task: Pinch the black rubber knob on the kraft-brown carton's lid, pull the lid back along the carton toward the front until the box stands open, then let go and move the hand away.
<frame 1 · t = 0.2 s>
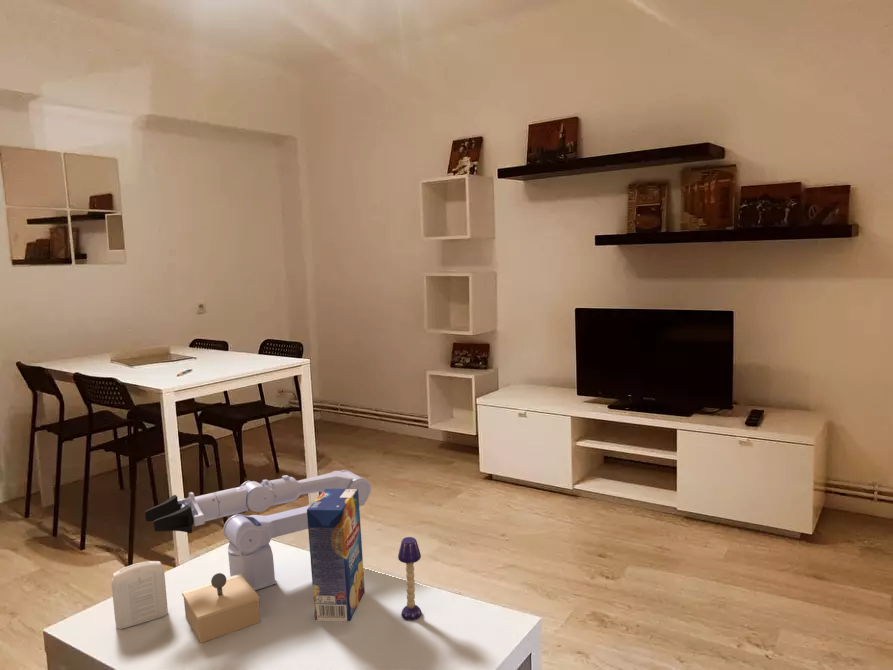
hand: (149, 521, 141), 21 cm above the table, tool horizontal, fingers open, 7 cm apart
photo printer: (142, 620, 143), on the table
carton: (222, 619, 141), on the table
juice carton: (340, 606, 145), on the table
lid: (219, 585, 140), point 8 cm above the table, slide at 0.0 cm
toy lamp: (412, 616, 140), on the table
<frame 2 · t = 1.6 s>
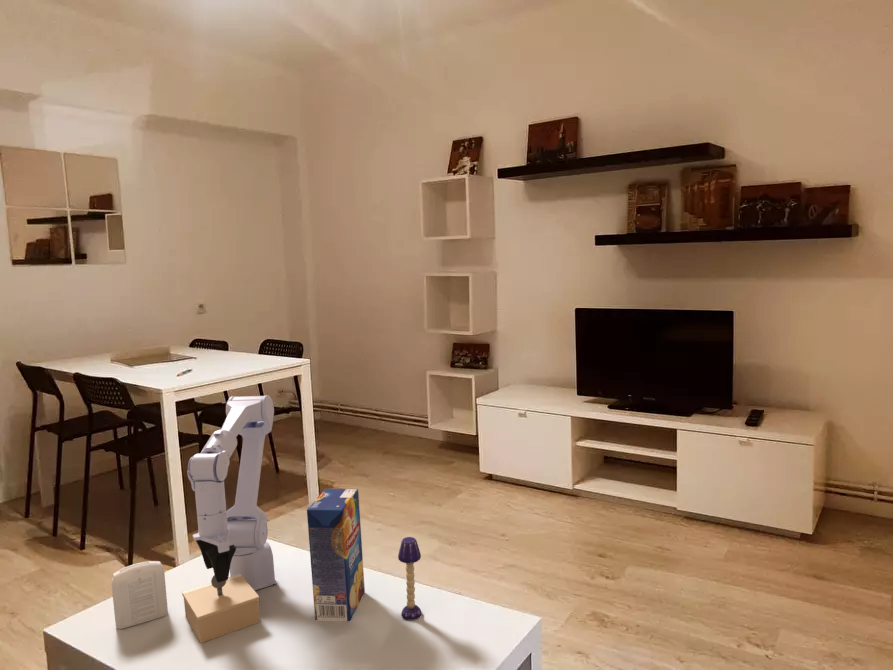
hand: (217, 573, 139), 10 cm above the table, tool pointing down, fingers open, 7 cm apart
nothing on the table moved.
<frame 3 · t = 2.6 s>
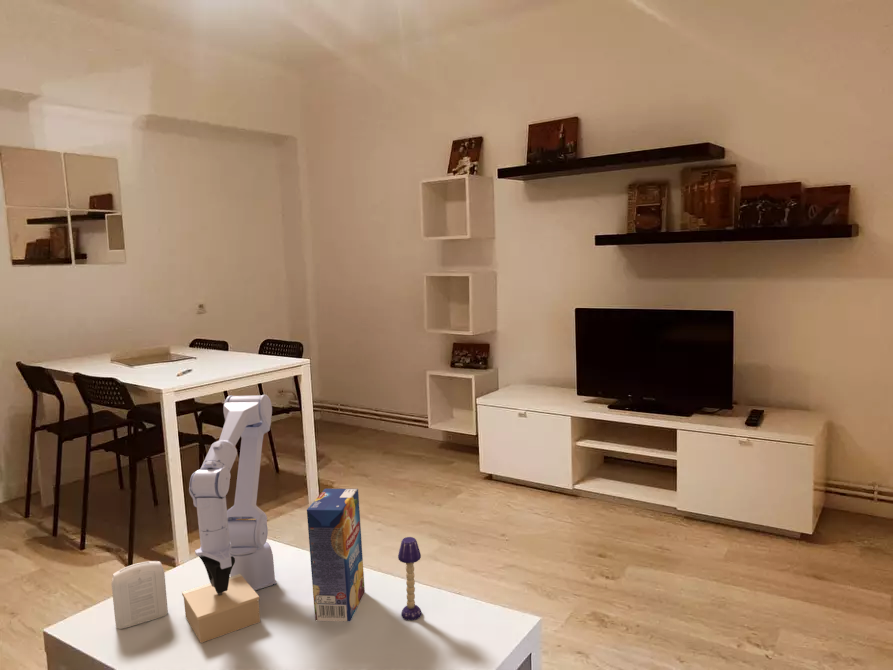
hand: (219, 588, 140), 7 cm above the table, tool pointing down, fingers closed on lid, 3 cm apart
lid: (219, 585, 140), point 8 cm above the table, slide at 0.0 cm, touching gripper
everything else where it was.
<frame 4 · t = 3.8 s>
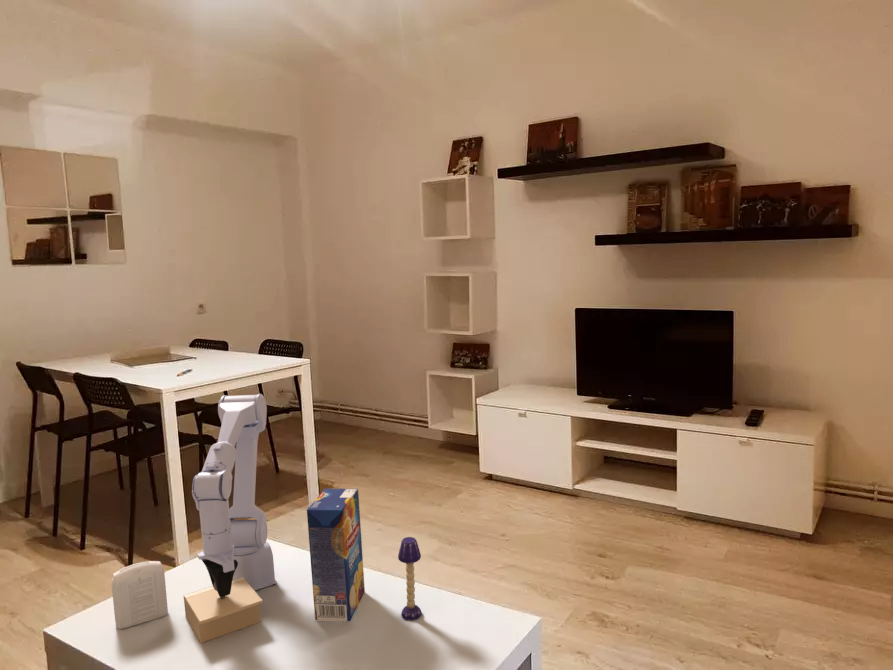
hand: (222, 591, 139), 7 cm above the table, tool pointing down, fingers closed on lid, 3 cm apart
lid: (221, 589, 139), point 8 cm above the table, slide at 1.9 cm, touching gripper
everything else where it was.
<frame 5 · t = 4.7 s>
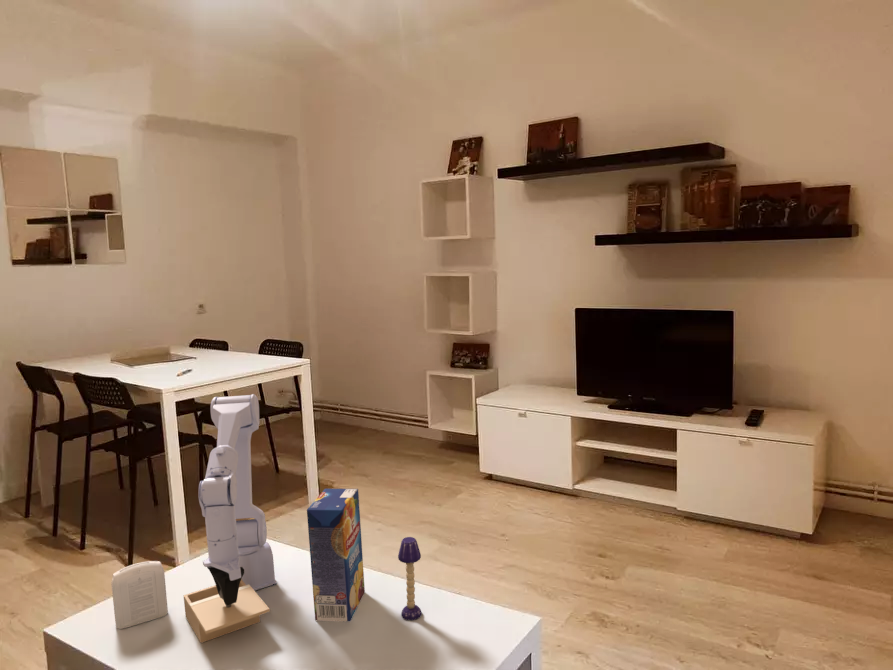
hand: (228, 599, 135), 7 cm above the table, tool pointing down, fingers closed on lid, 3 cm apart
lid: (227, 597, 135), point 8 cm above the table, slide at 6.0 cm, touching gripper
everything else where it was.
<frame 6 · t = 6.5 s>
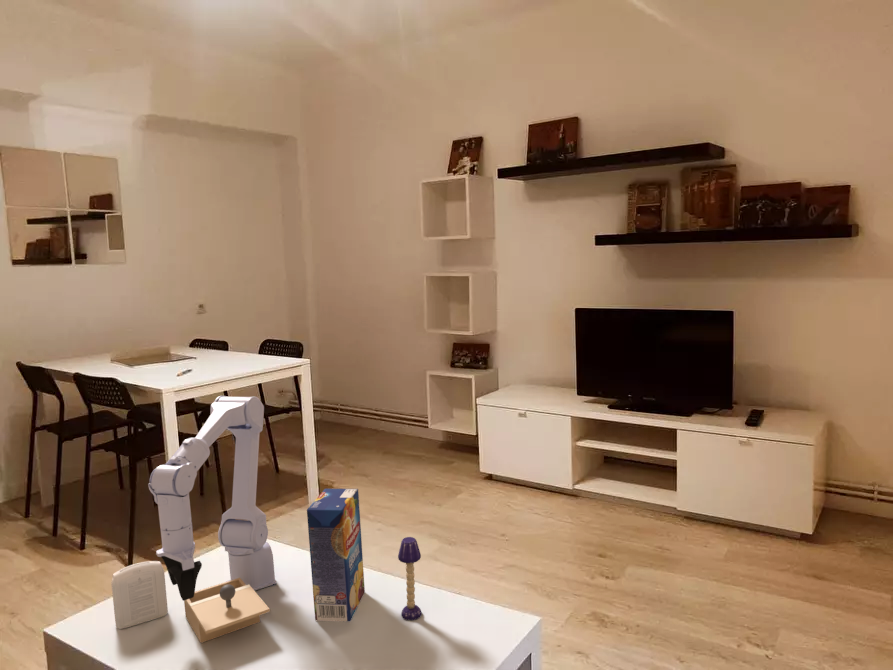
hand: (182, 590, 133), 10 cm above the table, tool pointing down, fingers open, 7 cm apart
lid: (228, 597, 135), point 8 cm above the table, slide at 6.0 cm
everything else where it was.
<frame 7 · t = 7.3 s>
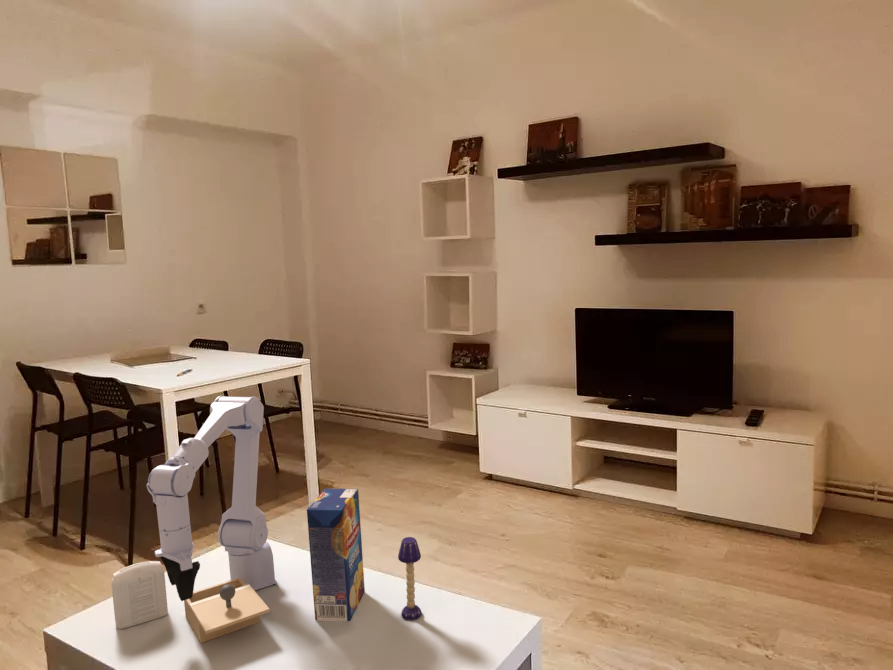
hand: (181, 590, 133), 10 cm above the table, tool pointing down, fingers open, 7 cm apart
nothing on the table moved.
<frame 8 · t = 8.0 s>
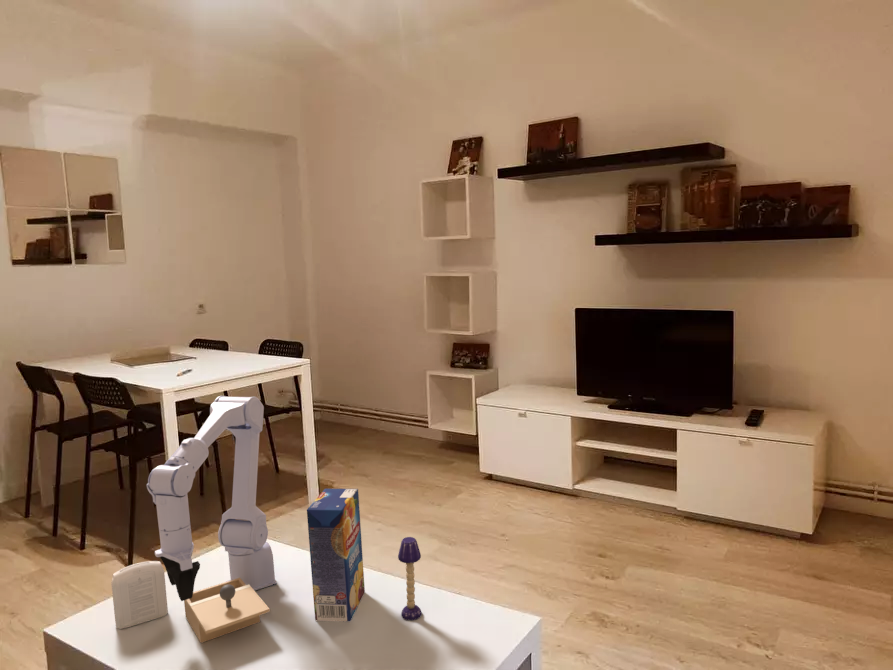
hand: (181, 590, 133), 10 cm above the table, tool pointing down, fingers open, 7 cm apart
nothing on the table moved.
at the end: lid slide at 6.0 cm; the gripper is holding nothing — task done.
